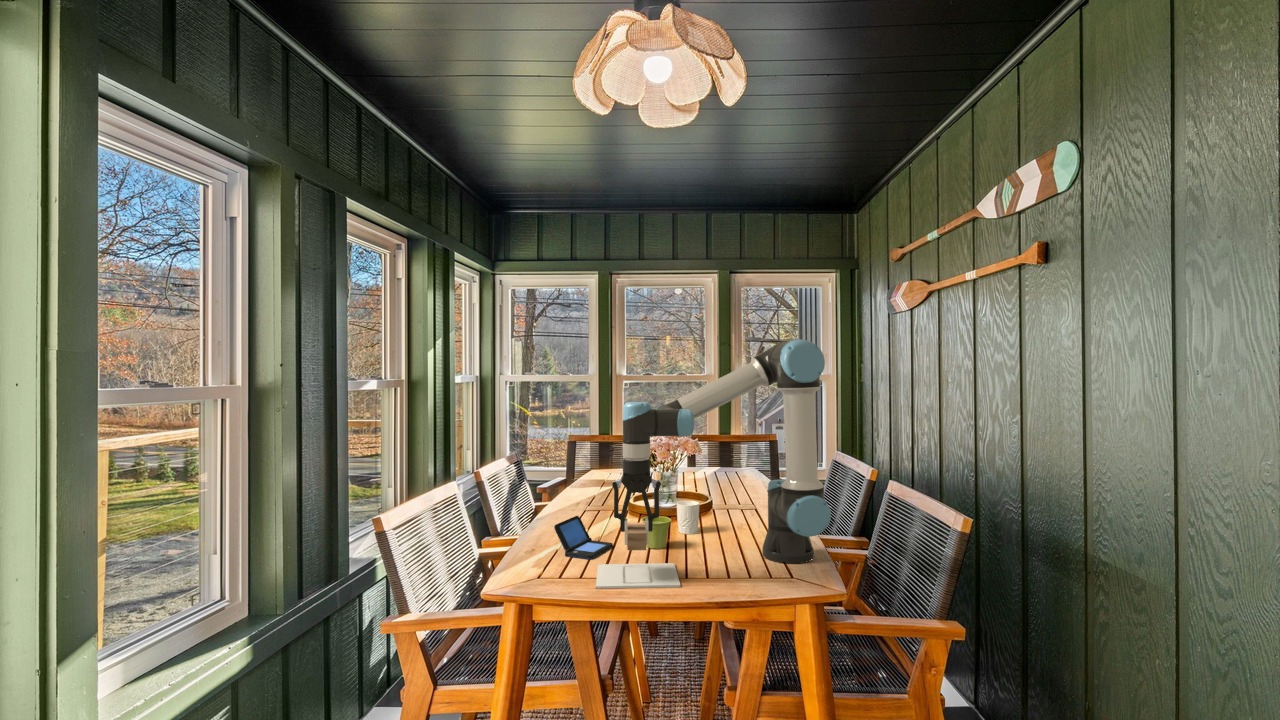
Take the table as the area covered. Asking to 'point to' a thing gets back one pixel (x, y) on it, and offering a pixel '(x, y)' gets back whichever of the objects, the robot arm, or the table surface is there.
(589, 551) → the handheld game console
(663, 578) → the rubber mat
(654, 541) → the plant pot
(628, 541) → the walnut block
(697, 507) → the white cup
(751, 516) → the table surface
